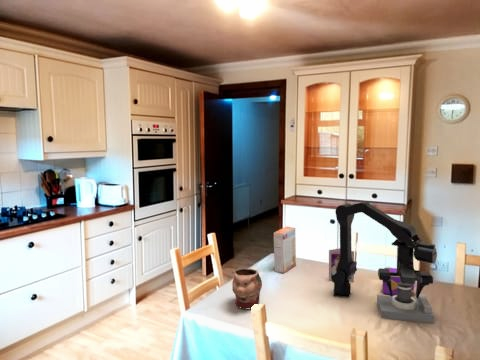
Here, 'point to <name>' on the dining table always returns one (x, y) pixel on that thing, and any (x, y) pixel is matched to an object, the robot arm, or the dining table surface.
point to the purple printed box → (336, 262)
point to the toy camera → (394, 283)
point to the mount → (405, 309)
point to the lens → (404, 292)
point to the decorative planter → (246, 287)
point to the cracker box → (284, 249)
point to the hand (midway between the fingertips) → (403, 297)
